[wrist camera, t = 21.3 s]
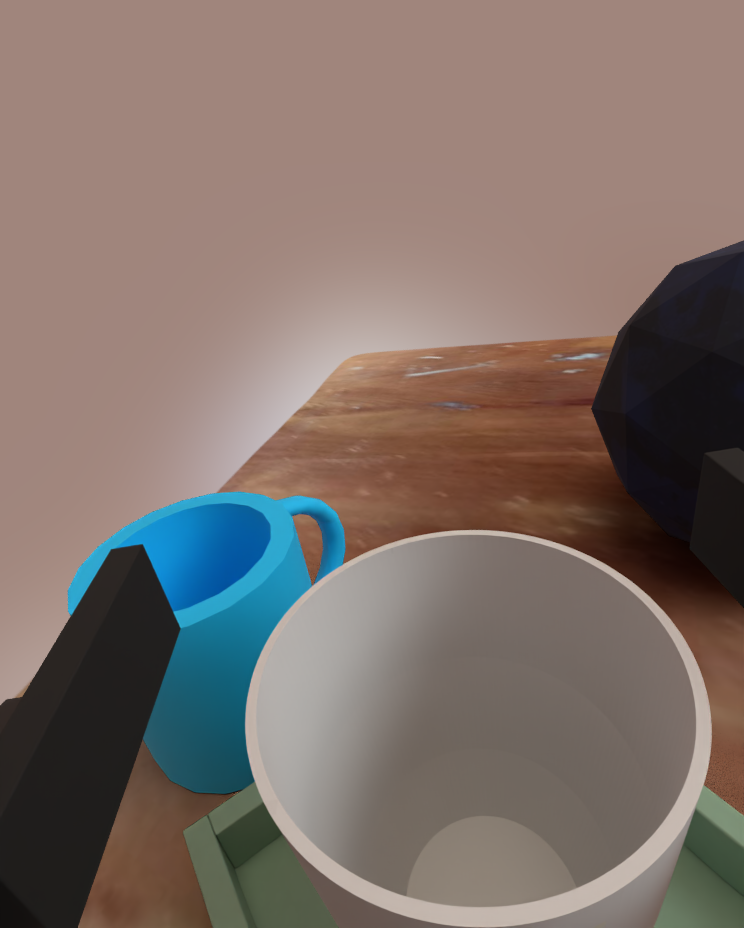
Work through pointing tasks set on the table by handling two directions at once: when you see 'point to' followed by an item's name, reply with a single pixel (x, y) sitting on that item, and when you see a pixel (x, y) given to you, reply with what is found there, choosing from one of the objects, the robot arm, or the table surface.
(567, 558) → the cup
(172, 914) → the table surface
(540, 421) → the table surface
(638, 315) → the decorative orb
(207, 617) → the mug
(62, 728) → the robot arm
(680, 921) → the tray
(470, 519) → the table surface
